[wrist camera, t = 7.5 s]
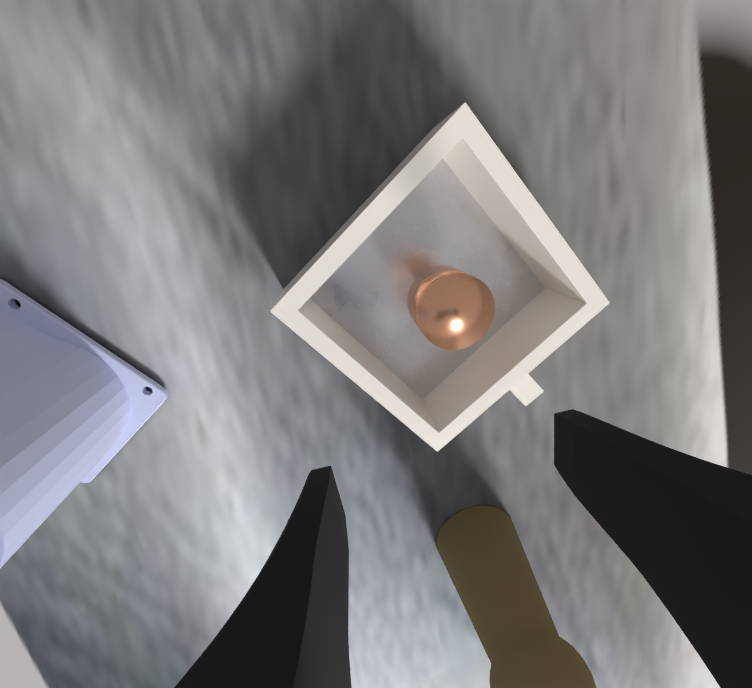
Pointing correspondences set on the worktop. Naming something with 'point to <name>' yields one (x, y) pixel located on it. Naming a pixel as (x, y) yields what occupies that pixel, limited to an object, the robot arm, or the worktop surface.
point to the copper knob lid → (429, 283)
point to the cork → (507, 603)
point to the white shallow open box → (509, 344)
